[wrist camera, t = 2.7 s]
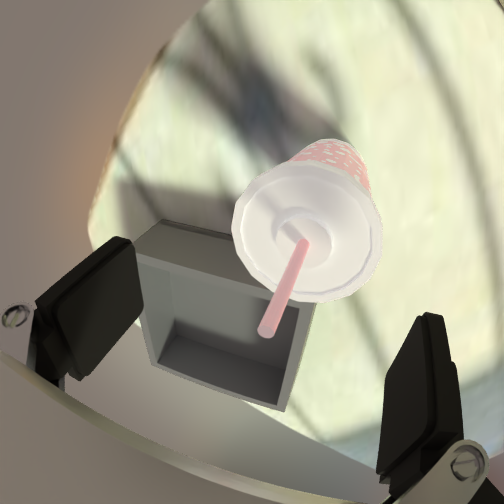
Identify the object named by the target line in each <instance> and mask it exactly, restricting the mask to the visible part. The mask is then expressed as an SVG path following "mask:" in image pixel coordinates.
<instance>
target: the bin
mask: <svg viewBox="0 0 504 504" xmlns="http://www.w3.org/2000/svg"><path fill="white" fill-rule="evenodd" d="M132 245H134V247H135V251H136V258H137V265H138V272H139V278H140V284H141V290H142V296H143V301H144V308H143V311H142V313H141V314H140V316H139V319H140V323H141V327H142V331H143V335H144V339H145V343H146V347H147V350H148V354H149V358H150V361H151V365H153V366H155V367H158V368H160V369H162V370H165V371H167V372H169V373H172V374H174V375H177V376H179V377H182V378H184V379H187V380H189V381H192V382H195V383H197V384H200V385H203V386H205V387H208V388H211V389H213V390H216V391H219V392H221V393H224V394H227V395H230V396H233V397H236V398H239V399H242V400H245V401H248V402H251V403H254V404H258V405H261V406H264V407H267V408H271V409H274V410H278V411H281V412H285V409H286V406H287V403H288V400H289V397H290V394H291V391H292V388H293V385H294V382H295V379H296V376H297V373H298V370H299V366H300V363H301V359H302V356H303V352H304V349H305V345H306V341H307V338H308V334H309V330H310V327H311V323H312V319H313V315H314V311H315V307H316V303H315V302H298V301H295V300H292V299H290V298H289V300H288V302H287V305H286V307H285V310H284V312H283V314H282V317H281V319H280V322H279V324H278V327H277V329H276V331H275V334H274V336H273V337H272V338H264V337H262V336H261V335H259V333H258V331H257V329H258V327H259V325H260V323H261V320H262V318H263V316H264V314H265V312H266V310H267V308H268V306H269V304H270V301H271V299H272V297H273V295H274V292H272V291H271V290H269V289H268V288H267V287H265V286H264V285H263V284H262V283H260V282H259V281H258V280H256V279H255V278H254V277H253V276H251V274H250V273H249V271H248V270H247V268H246V267H245V265H244V264H243V262H242V261H241V259H240V258H239V256H238V255H237V252H236V248H235V244H234V239H233V236H232V235H228V234H223V233H219V232H215V231H211V230H206V229H202V228H198V227H193V226H189V225H185V224H180V223H176V222H171V221H167V220H163V219H162V220H160V221H159V222H158V223H157V224H156V225H154V226H153V227H152V228H151V229H149V230H148V231H147V232H146V233H144V234H143V235H142V236H141V237H140V238H138V239H137V240H136V241H135V242H134V243H132Z"/></svg>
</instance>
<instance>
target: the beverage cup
mask: <svg viewBox="0 0 504 504" xmlns="http://www.w3.org/2000/svg"><path fill="white" fill-rule="evenodd" d="M231 231H232V235H233V239H234V244H235V248H236V252H237V255H238V256H239V258H240V259H241V261H242V262H243V264H244V265H245V267H246V268H247V270H248V271H249V273H250V274H251V276H253V277H254V278H255V279H256V280H258V281H259V282H260V283H262V284H263V285H264V286H265V287H267V288H268V289H269V290H271V291H272V292H274V295H273V297H272V299H271V301H270V304H269V306H268V308H267V310H266V312H265V314H264V316H263V318H262V320H261V323H260V325H259V327H258V329H257V331H258V333H259V335H261V336H262V337H264V338H272V337H273V336H274V334H275V331H276V329H277V327H278V324H279V322H280V319H281V317H282V314H283V312H284V310H285V307H286V305H287V302H288V300H289V298H290V299H292V300H295V301H298V302H315V303H326V302H330V301H333V300H337V299H340V298H343V297H347V296H350V295H351V294H352V293H354V292H355V291H356V290H358V289H359V288H360V287H361V286H363V285H364V284H365V283H366V282H368V281H369V280H370V279H371V277H372V275H373V273H374V271H375V269H376V267H377V265H378V263H379V261H380V259H381V257H382V222H381V217H380V214H379V212H378V210H377V208H376V206H375V203H374V201H373V199H372V195H371V189H370V183H369V178H368V172H367V167H366V164H365V162H364V160H363V158H362V156H361V154H360V153H359V152H358V151H357V150H356V149H355V148H353V147H352V146H351V145H350V144H349V143H346V142H343V141H340V140H337V139H320V140H318V141H316V142H314V143H312V144H310V145H308V146H307V147H305V148H304V149H303V150H301V151H300V152H299V153H297V154H296V155H295V156H293V157H292V158H291V159H289V160H288V161H287V162H283V163H281V164H279V165H277V166H275V167H274V168H272V169H270V170H268V171H266V172H264V173H262V174H260V175H259V176H258V177H256V178H255V179H253V180H252V181H251V183H250V184H249V185H248V187H247V188H246V190H245V191H244V192H243V194H242V195H241V196H240V198H239V199H238V200H237V202H236V204H235V209H234V214H233V220H232V225H231Z"/></svg>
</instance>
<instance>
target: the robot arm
mask: <svg viewBox="0 0 504 504" xmlns="http://www.w3.org/2000/svg"><path fill="white" fill-rule="evenodd" d="M499 2H500V3H501V5H502V6H503V8H504V0H499ZM35 303H36V305H37V309H36V310H34V309H33V307H32V305H30V304H29V303H27V302H17V303H13V304H11V305H9V306H8V307H6V308H5V309H4V310H3V311H2V312H1V314H0V504H366V503H359V502H352V501H346V500H340V499H335V498H329V497H324V496H319V495H314V494H310V493H305V492H301V491H297V490H292V489H288V488H284V487H280V486H276V485H272V484H268V483H265V482H261V481H257V480H255V479H251V478H248V477H245V476H242V475H238V474H235V473H232V472H229V471H226V470H223V469H220V468H218V467H215V466H212V465H209V464H207V463H204V462H201V461H199V460H196V459H194V458H191V457H188V456H186V455H183V454H181V453H179V452H176V451H174V450H172V449H170V448H167V447H165V446H163V445H160V444H158V443H156V442H154V441H152V440H150V439H148V438H145V437H143V436H141V435H139V434H137V433H135V432H133V431H131V430H129V429H127V428H125V427H124V426H122V425H120V424H118V423H116V422H114V421H112V420H110V419H109V418H107V417H105V416H103V415H101V414H100V413H98V412H96V411H94V410H93V409H91V408H89V407H88V406H86V405H84V404H83V403H81V402H79V401H77V400H76V399H75V398H73V397H71V396H70V395H68V394H67V393H65V387H64V386H65V381H64V379H65V378H64V377H65V374H66V373H67V372H68V373H69V375H70V376H71V377H73V378H75V379H76V380H78V381H81V380H82V379H83V378H84V377H85V376H88V375H89V374H91V372H92V371H93V370H94V369H95V368H96V366H97V365H98V364H99V363H100V362H101V360H102V359H103V358H104V357H105V355H106V354H107V353H108V352H109V351H110V350H111V348H112V347H113V346H114V345H115V344H116V342H117V341H118V340H119V339H120V338H121V336H122V335H123V334H124V333H125V332H126V330H128V328H129V327H130V326H131V325H132V324H133V323H134V321H135V320H136V319H137V318H138V317H139V316H140V314H141V313H142V311H143V308H144V301H143V296H142V290H141V284H140V278H139V272H138V265H137V258H136V251H135V247H134V245H132V242H131V241H130V240H129V239H125V238H122V237H118V236H114V237H112V238H111V239H110V240H109V241H107V242H106V243H105V244H103V245H102V246H101V247H99V248H98V249H97V250H96V251H94V252H93V253H92V254H91V255H89V256H88V257H87V258H85V259H84V260H83V261H82V262H81V263H79V264H78V265H77V266H76V267H74V268H73V269H72V270H71V271H69V272H68V273H67V274H66V275H65V276H63V277H62V278H61V279H60V280H59V281H57V282H56V283H55V284H54V285H53V286H51V287H50V288H49V289H48V290H47V291H46V292H45V293H43V294H42V295H41V296H40V297H39V298H38V299H36V300H35ZM488 471H489V458H488V455H487V453H486V451H485V450H484V448H483V447H482V446H481V445H480V444H478V443H477V442H475V441H472V440H464V433H463V419H462V408H461V399H460V390H459V382H458V375H457V368H456V365H455V363H454V362H452V361H451V356H450V349H449V344H448V338H447V333H446V327H445V322H444V318H443V316H442V315H438V314H433V313H429V312H425V313H424V314H423V315H422V316H417V318H416V319H415V321H414V323H413V325H412V327H411V329H410V331H409V333H408V335H407V337H406V339H405V341H404V343H403V345H402V347H401V348H400V350H399V352H398V354H397V356H396V358H395V359H394V361H393V363H392V365H391V367H390V368H389V370H388V372H387V374H386V378H385V385H384V401H383V414H382V425H381V434H380V443H379V451H378V459H377V466H376V473H377V474H379V475H380V481H379V483H381V484H390V487H389V493H390V495H389V496H388V497H387V498H386V499H385V500H383V501H382V502H381V503H380V504H504V496H503V495H502V494H501V493H500V492H499V491H498V489H497V488H496V487H495V486H494V485H493V484H492V483H491V482H490V481H489V479H488V478H487V477H486V476H487V474H488Z"/></svg>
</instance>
